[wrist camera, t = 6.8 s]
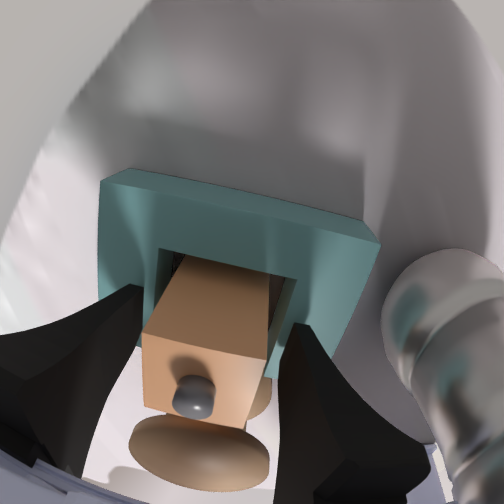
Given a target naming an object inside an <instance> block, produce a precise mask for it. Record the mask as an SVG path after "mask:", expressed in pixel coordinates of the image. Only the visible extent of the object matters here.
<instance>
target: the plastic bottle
mask: <svg viewBox="0 0 504 504" xmlns="http://www.w3.org/2000/svg"><path fill="white" fill-rule="evenodd" d="M381 331H382V337H383V343H384V348H385V353H386V357H387V358H388V360H389V362H390V364H391V365H392V367H393V369H394V370H395V372H396V374H397V375H398V377H399V379H400V380H401V382H402V384H403V385H404V386H405V387H406V389H407V390H408V391H409V393H410V394H411V395H412V396H413V397H414V398H415V400H416V402H417V404H418V406H419V408H420V410H421V412H422V414H423V416H424V418H425V420H426V422H427V424H428V426H429V428H430V430H431V432H432V434H433V436H434V438H435V440H436V442H437V444H438V447H439V449H440V451H441V453H442V455H443V459H444V463H445V466H446V470H447V474H448V478H449V480H450V481H451V482H452V484H453V488H452V494H453V499H454V501H458V504H504V273H503V272H502V271H501V270H500V268H499V267H498V266H497V265H495V264H494V263H492V262H491V261H489V260H488V259H486V258H484V257H482V256H480V255H478V254H476V253H474V252H471V251H468V250H465V249H459V248H449V249H443V250H439V251H436V252H433V253H430V254H428V255H425V256H423V257H421V258H419V259H418V260H416V261H414V262H413V263H412V264H411V265H409V266H408V267H407V268H406V269H405V270H404V271H403V272H402V273H401V274H400V275H399V276H398V278H397V279H396V281H395V282H394V284H393V285H392V287H391V289H390V290H389V292H388V294H387V297H386V299H385V301H384V304H383V308H382V312H381Z"/></svg>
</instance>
